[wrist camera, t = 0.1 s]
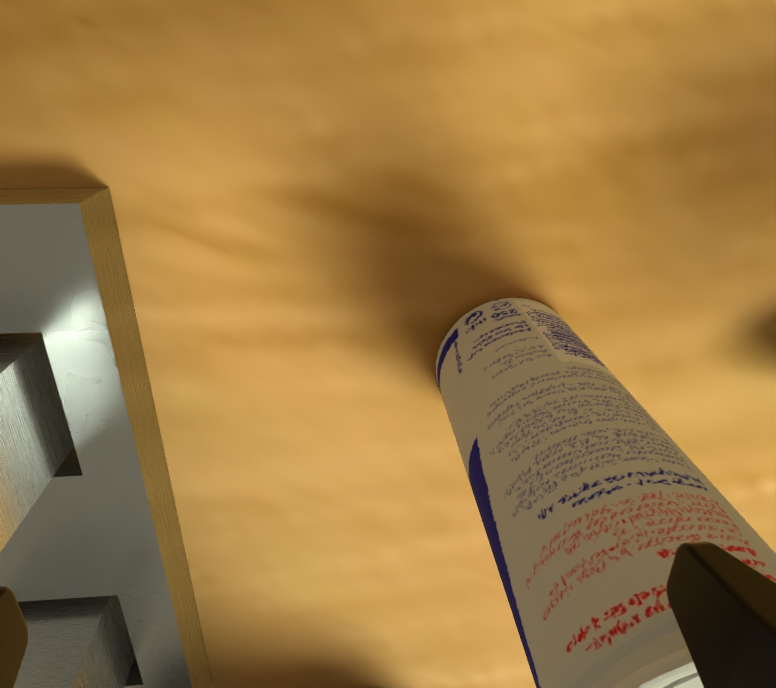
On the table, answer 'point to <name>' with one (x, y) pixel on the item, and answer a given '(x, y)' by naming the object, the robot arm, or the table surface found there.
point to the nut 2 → (75, 644)
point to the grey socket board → (97, 436)
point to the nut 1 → (27, 427)
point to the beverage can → (579, 499)
